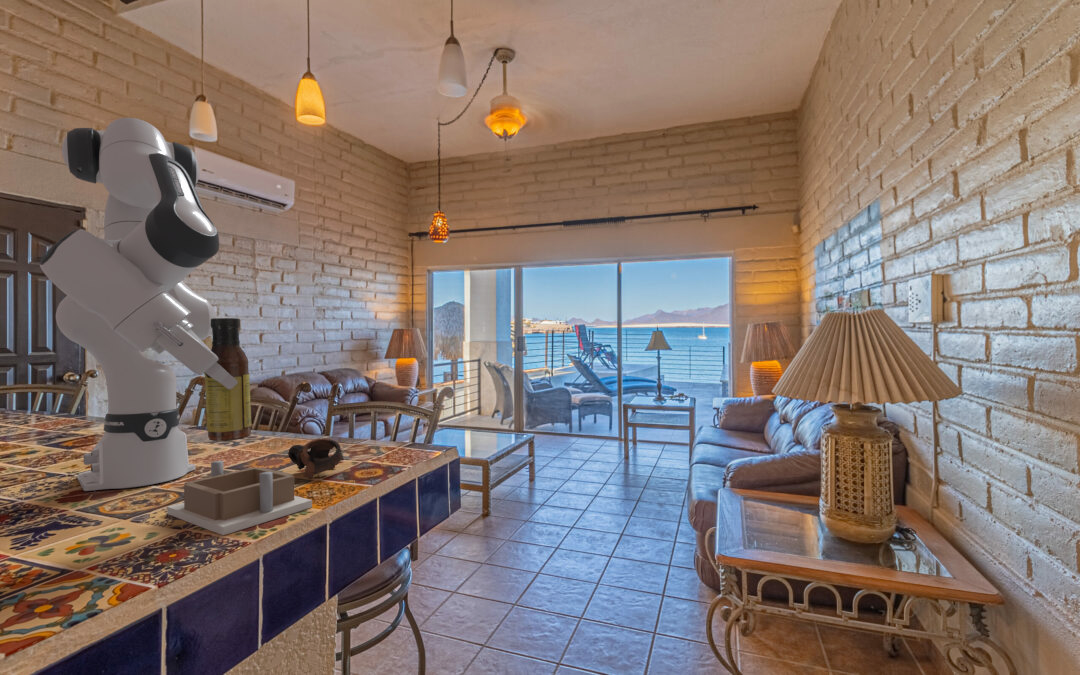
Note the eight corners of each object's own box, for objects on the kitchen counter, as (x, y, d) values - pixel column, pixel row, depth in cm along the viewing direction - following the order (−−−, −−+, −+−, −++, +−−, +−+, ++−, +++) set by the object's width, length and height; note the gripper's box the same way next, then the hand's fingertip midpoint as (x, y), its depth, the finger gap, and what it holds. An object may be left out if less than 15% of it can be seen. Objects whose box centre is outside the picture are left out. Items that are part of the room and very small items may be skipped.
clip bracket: (167, 513, 81) (167, 470, 81) (254, 491, 93) (253, 453, 93) (223, 535, 72) (222, 485, 72) (312, 507, 83) (311, 464, 84)
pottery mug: (349, 468, 112) (351, 439, 108) (330, 498, 103) (331, 468, 100) (297, 455, 111) (297, 426, 108) (273, 484, 103) (273, 454, 99)
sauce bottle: (233, 434, 85) (232, 319, 86) (260, 436, 83) (259, 318, 84) (195, 441, 79) (194, 318, 80) (223, 443, 77) (222, 316, 77)
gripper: (173, 306, 69) (254, 373, 74) (177, 313, 86) (243, 367, 91) (131, 338, 66) (219, 405, 72) (145, 339, 83) (215, 393, 89)
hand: (232, 384), depth 82 cm, fingers closed on sauce bottle, 6 cm apart
